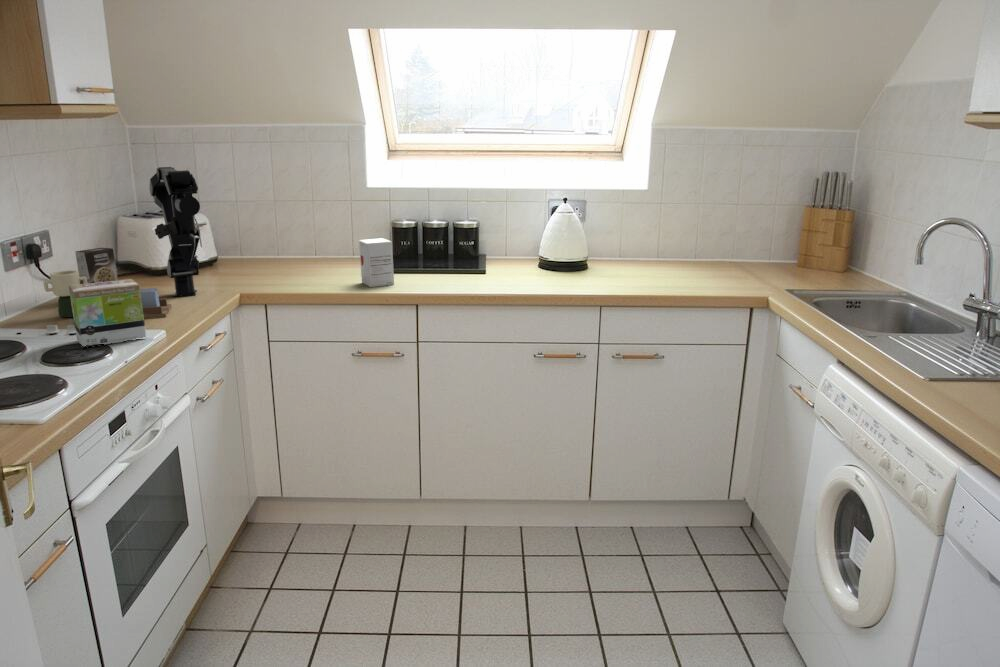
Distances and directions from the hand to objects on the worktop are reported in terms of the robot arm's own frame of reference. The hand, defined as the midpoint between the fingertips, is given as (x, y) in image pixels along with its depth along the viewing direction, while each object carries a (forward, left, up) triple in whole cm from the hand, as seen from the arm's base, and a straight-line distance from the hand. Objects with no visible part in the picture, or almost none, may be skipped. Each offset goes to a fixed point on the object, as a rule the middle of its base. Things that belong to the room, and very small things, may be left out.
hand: (189, 263), depth 229 cm
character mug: (+8, -33, -12) cm, 36 cm away
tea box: (+39, -16, -12) cm, 44 cm away
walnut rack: (+12, -13, -12) cm, 21 cm away
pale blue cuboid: (+12, -13, -11) cm, 21 cm away
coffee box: (-13, -29, -12) cm, 34 cm away
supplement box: (-8, +58, -12) cm, 60 cm away
